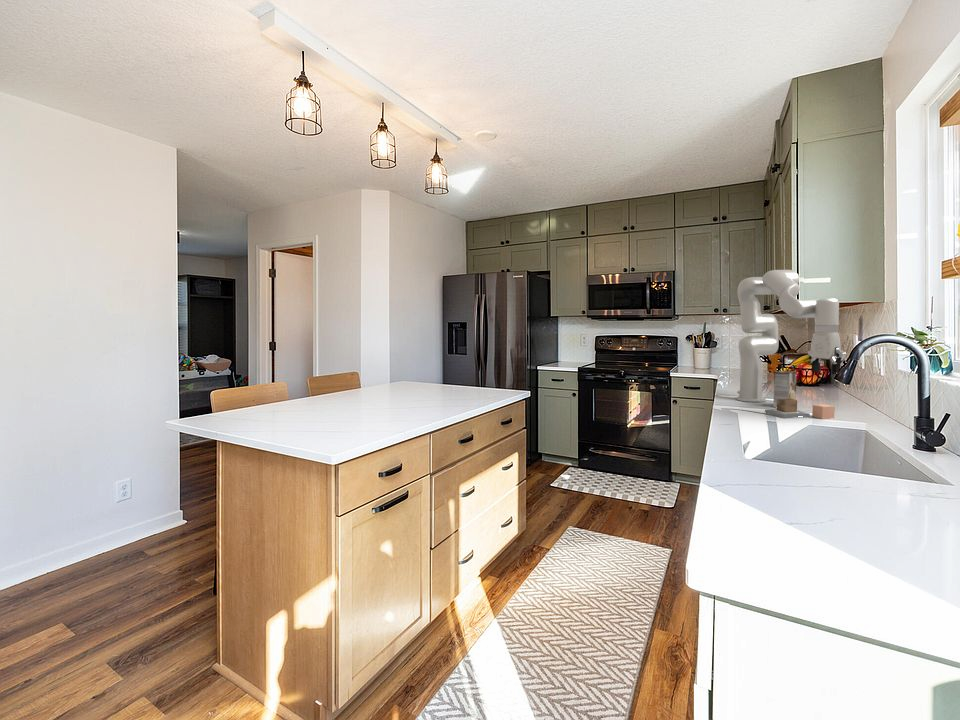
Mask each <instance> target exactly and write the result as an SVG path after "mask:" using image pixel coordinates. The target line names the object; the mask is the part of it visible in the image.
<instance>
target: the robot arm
mask: <svg viewBox="0 0 960 720" xmlns="http://www.w3.org/2000/svg"><path fill="white" fill-rule="evenodd" d="M799 283H800V275H799V273H797V271H795V270H793V269H774V270H773V269H772V270H769V271H766V273H764V275H762V276H751V277H746V278H744V279H742V280H741V281H740V283H739V284H738V287H737V291H736V292H737V298H738V301H739V307H740V311H739V312H740V326H741V330H742V332H743V333H746V334H761V335H750V336H748V335H747V336H744V337H742V338H741V339H740V340H739V341H738V344H737V345H738V351H739V359H740V360H739V361H740V366H739V367H740V368H739V369H740V372H739V376H740V377H739V381H740V383H739V384H740V385H739V389H738V390H737V391H736V392H737V394H738V396H736V400H737V401H739V402H746V403H747V402H749V403H764V402H766V401H767V398H765V397H763V381H764V380H763V378H764V375H763V373H764V371H763V370H764V365H763V361H762V359H761V357H760V356H771V355H774V354H775V355H776V353H778V350H779V347H780V346H779V342H780V341H779V339H780V338H779V324H778V320H777V318H776V316H774V314H771V313H762V312H761V304H760V301H759V300H758V298H757V297H756V296H757V295H758V296H760V295H761V296H762V295H763V296H765V295H770V296H771V295H776V296H777V297H778V304H779V307H780V309H781V310H782V311H783V312H784V313H786V315H788V316H790V317H791V318H795V319H814V333H813V334H812V338H811V343H810V349H809V350H808V351H807V355H808V358H809V360H810V363H811V373H821V362H820V361H821V359H823V360H830V361H831V362H832V364H831V370H830V373H831V375H837V374H836V372H837V371H838V370H839V369H840V367H841V365H842V364H843V362H844V361H845V359H846V356H847V353H846V352H845V351H844V350H842V347H841V337H840V333H839V324H840V321H839V319H840V317H839V314H840V301H839V299H837V298H831V297H830V298H819V299H809V298H808V299H798V298H796V296H797V295H798V294H799V293H800V290H801V288H800V285H799ZM840 370H841V369H840Z"/></svg>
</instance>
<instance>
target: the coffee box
mask: <svg viewBox="0 0 960 720" xmlns="http://www.w3.org/2000/svg"><path fill="white" fill-rule="evenodd" d="M797 374H798V373H797V371H793V370H792V371H791V370H779V371H776V372H775V371H774V372H773V408H775V407H777V399H780V398H790V399H794V400H797Z"/></svg>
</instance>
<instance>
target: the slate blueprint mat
mask: <svg viewBox="0 0 960 720" xmlns="http://www.w3.org/2000/svg"><path fill="white" fill-rule="evenodd" d="M765 412H766V413H770V414H773V415H772V416H774V415H776V416H775V417H777V416H778V417H777V418H782V419H790V418H791V419H794V418H793V417H798V416H803V418H810V415H811V414H810V413H809V412H805V411H801V410H797V412H789V413H785V412H781V411H777V408H773V409H770V408H769V409H764V413H765ZM766 413H765V414H766ZM770 414H769V415H770Z"/></svg>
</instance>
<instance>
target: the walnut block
mask: <svg viewBox="0 0 960 720" xmlns="http://www.w3.org/2000/svg"><path fill="white" fill-rule="evenodd" d="M776 409H777V411H781V412H785V413H789V412H797V411H798V399H796V400H794V399H790V398H780V399H777V408H776Z"/></svg>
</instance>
